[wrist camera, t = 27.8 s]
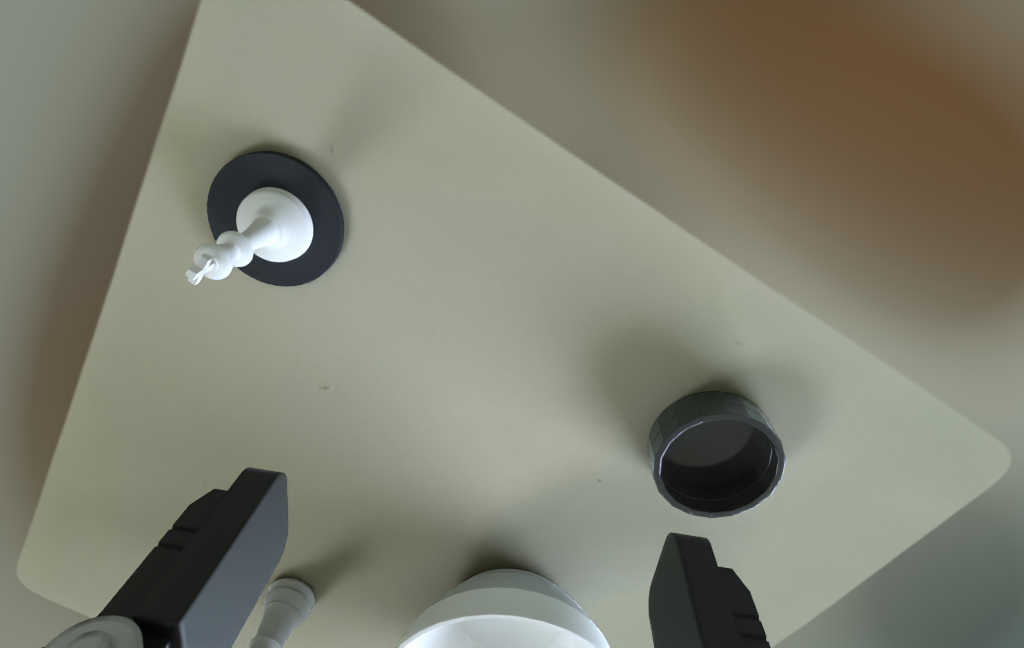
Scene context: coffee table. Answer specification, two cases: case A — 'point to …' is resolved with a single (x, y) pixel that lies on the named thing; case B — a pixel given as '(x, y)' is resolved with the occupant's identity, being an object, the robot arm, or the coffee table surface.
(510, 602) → the bowl
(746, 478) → the round container
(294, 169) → the coaster
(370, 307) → the coffee table surface
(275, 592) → the rook chess piece
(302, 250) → the chess piece
